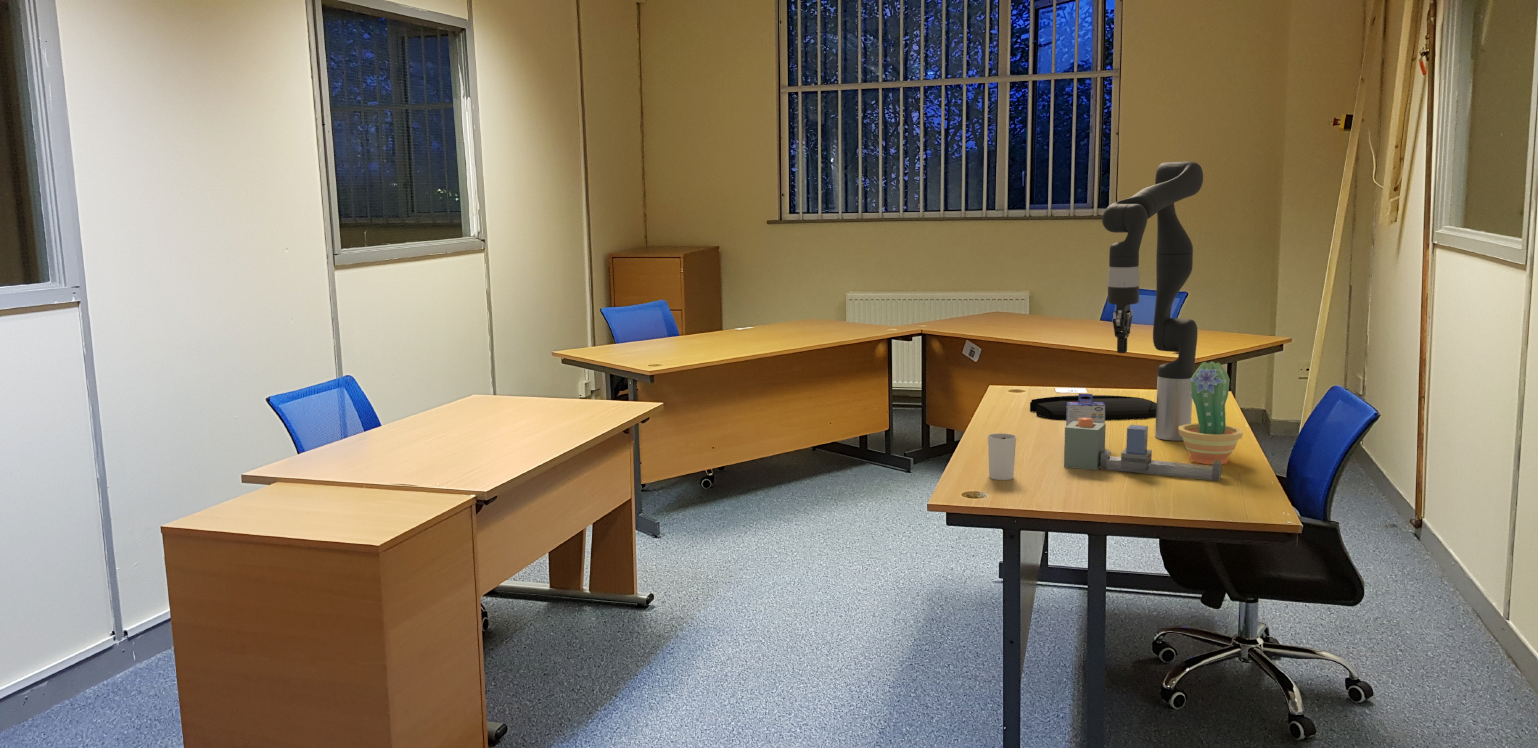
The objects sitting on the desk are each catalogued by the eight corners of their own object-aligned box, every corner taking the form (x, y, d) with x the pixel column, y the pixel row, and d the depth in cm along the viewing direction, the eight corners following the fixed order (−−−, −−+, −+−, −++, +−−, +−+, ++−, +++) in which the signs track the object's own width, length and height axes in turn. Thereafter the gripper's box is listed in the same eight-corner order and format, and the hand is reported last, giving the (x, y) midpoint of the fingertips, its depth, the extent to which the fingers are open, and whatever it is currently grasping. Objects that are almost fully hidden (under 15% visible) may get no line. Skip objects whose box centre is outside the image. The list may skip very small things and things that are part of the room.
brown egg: (1079, 442, 266) (1079, 417, 265) (1093, 443, 265) (1094, 418, 264) (1075, 444, 263) (1076, 419, 262) (1090, 446, 261) (1091, 420, 261)
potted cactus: (1162, 457, 271) (1166, 360, 268) (1208, 451, 277) (1212, 356, 274) (1209, 470, 257) (1214, 368, 254) (1256, 463, 263) (1261, 364, 260)
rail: (1103, 465, 263) (1104, 449, 263) (1220, 477, 251) (1221, 460, 250) (1100, 469, 260) (1100, 453, 259) (1218, 480, 247) (1219, 464, 247)
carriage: (1125, 463, 262) (1127, 423, 261) (1151, 465, 259) (1152, 425, 258) (1120, 469, 256) (1122, 428, 255) (1146, 471, 253) (1148, 430, 252)
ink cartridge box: (1102, 446, 285) (1104, 393, 283) (1105, 450, 279) (1106, 396, 277) (1064, 445, 287) (1066, 392, 285) (1066, 449, 281) (1067, 396, 279)
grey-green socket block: (1072, 459, 270) (1073, 420, 269) (1104, 462, 267) (1105, 423, 265) (1063, 466, 263) (1064, 427, 261) (1096, 470, 259) (1098, 430, 257)
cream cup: (984, 473, 257) (985, 433, 256) (1012, 473, 257) (1013, 433, 255) (989, 480, 250) (990, 439, 249) (1018, 480, 250) (1018, 439, 249)
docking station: (1177, 421, 319) (1178, 404, 319) (1042, 422, 320) (1042, 406, 319) (1149, 406, 344) (1149, 391, 343) (1024, 407, 345) (1024, 392, 344)
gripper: (1134, 287, 258) (1132, 357, 261) (1143, 282, 269) (1142, 349, 272) (1102, 287, 261) (1101, 356, 264) (1113, 281, 273) (1112, 348, 276)
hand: (1122, 352), depth 268 cm, fingers closed
